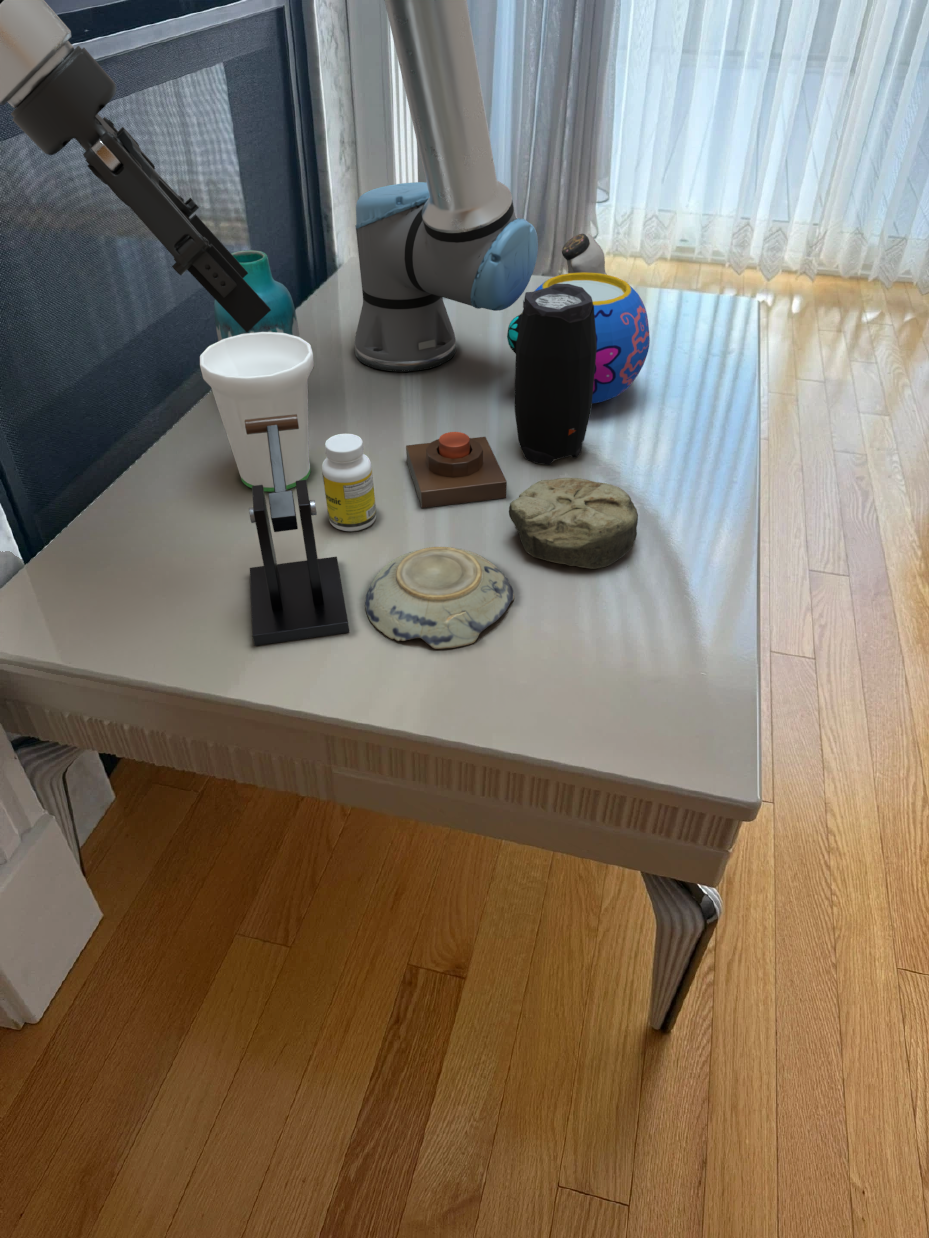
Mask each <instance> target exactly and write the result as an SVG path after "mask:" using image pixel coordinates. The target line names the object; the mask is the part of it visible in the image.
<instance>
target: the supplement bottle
mask: <svg viewBox="0 0 929 1238" xmlns="http://www.w3.org/2000/svg"><path fill="white" fill-rule="evenodd" d="M324 447H325V455H326V458H324V460H323V462H322V464H321V473H322V480H323V487H324V494H325V503H326V508H327V516H328V521H329V523H330V525H332V527H334V528H335V529H338V530H340V531H344V532H357V531H362V530H365V529H366V528H369V527H370V526H371V525H372V524H374V522H375V521H376V519H377V505H376V497H375V487H374V486H375V485H374V477H373V476H374V475H373V466H372V462H371V459H370V458H369V456H367V455H366V454H365V451H364V450H365V449H364V441H363V439H362V438H361V437H360V436H359V435H356V434H353V433H339V434H335V435H332V436H330V437H329V438H327V439H326V440H325V444H324Z"/></svg>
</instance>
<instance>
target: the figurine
mask: <svg viewBox="0 0 929 1238" xmlns="http://www.w3.org/2000/svg"><path fill="white" fill-rule="evenodd" d="M561 254H562V256H563V258H564V259H565V261H566V264H567V274H568V273H581V272H586V273H600V274H606V275H608V274H607V272H606V258H605V253H604V250H603V248H602V247H601V245H600V244H599V243H598V242H597V241H596V239H595V237H594V236H593V235H592V234H591V233H585V234H584V233H578V234H576V235H574V236H572V237H571V238H570V239H569V240H567V241H566V242H565V244H564V245H563V246H562V249H561Z"/></svg>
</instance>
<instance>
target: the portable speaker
mask: <svg viewBox="0 0 929 1238" xmlns="http://www.w3.org/2000/svg"><path fill="white" fill-rule="evenodd" d="M523 298H524V299H522V311H523V313H522V312H521V313H522V318H521V323H520V327H519V332H518V336H517V341H516V354H515V365H514V368H515V369H514V396H513V400H514V401H513V403H514V414H515V424H516V432H517V440H518V444H519V445H518V446H519V447H520V449H521V452H522V455H523V456H524V459H525V460H527V461H529V462H532V463H534V464H538V465H545V466H546V465H547V466H549V465H551V464H552V463H553V462H554V461H556V460H559V459H560V460H561V459H564V458H568V457H571V458H572V459H576V458H578V457H579V456H580V455H581V454H582V452H583V444H584V441H585V437H586V433H587V429H588V425H589V422H590V417H591V414H592V405H593V404H592V396H593V385H594V374H595V363H596V352H597V342H596V328H595V315H594V305H593V301H592V297H591V296H590V295H589V294H588V293H587V292H586V291H585V290H584V289H583V288H582V287H578V286H575V285H571V284H554V285H552V286H550V287H547V288H544V289H540V290H537V291H535V290H534V291H526V292H525V293H524V297H523Z"/></svg>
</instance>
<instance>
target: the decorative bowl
mask: <svg viewBox="0 0 929 1238" xmlns="http://www.w3.org/2000/svg"><path fill="white" fill-rule="evenodd" d="M514 593H515V592H514V589H513V586H512V583H511V582H510V580H509V578H508V577H506V575H505V573H504V572H502V571H501V570H500V569H499V568H498V567H497V566H496V565H495V564H494V563H492V562H491V561H489V560H488V559H487V558H486V557H484V556H481V555H480V554H478V553H476V552H473V551H471V550H467V549H462V548H458V547H453V546H452V547H451V546H429V547H425V548H420V549H417V550H414V551H409V552H407V553H404V554H402V555H400V556H398V557H396V558H394V559H393V560H391V561H390V562H388V563H387V564H386V565H385V566H383V568H381V570H380V571H378V573H377V574H376V576H375V577H374V579H373V581H372V583H371V584H370V585H369V587H368V589H367V592H366V595H365V601H364V607H365V611H366V612H365V613H366V614H367V618H368V619H369V622H370V623H371V624H372V625H373V626H374V627H375V629H377V630H378V631H379V632H382V634H383V635H384V636H386V637H388V638H389V639H390V640H395V641H397V642H400V641H402V642H405V641H408V640H409V641H410V640H413V639H414V640H415V639H421V640H422V641H424V642H425V643H426V644H427V645H428V646H430V647H431V648H432V649H434V650H443V649H454V648H458V647H464V646H469V645H472V644H474V643H475V642H477V640H478V638H479V636H480V635H481V633H482V632H484V630H486V629H487V628H488V627H490V626H491V625H493V624H495V622H497V621H498V620H499V619H500V618H501V617H502V616H504V614H505V613H506V612H507V609H508V608H509V606H510V604H511V603H512V602H513V601H514V600H515V594H514Z"/></svg>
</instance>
